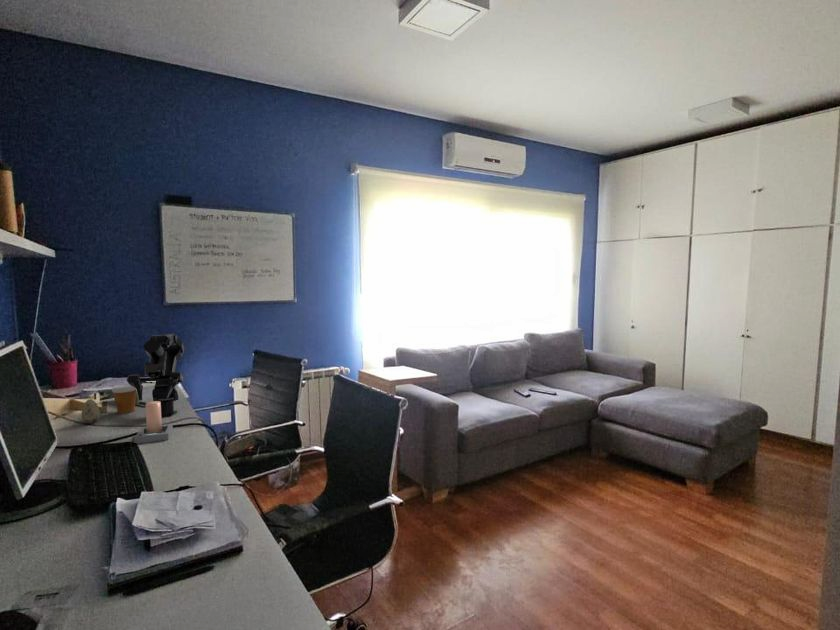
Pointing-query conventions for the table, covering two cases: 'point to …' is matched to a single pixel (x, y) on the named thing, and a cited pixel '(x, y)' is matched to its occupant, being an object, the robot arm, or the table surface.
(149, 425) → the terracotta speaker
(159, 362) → the robot arm
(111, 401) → the table surface
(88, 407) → the decorative egg
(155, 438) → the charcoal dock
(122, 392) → the disposable coffee cup
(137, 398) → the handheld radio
